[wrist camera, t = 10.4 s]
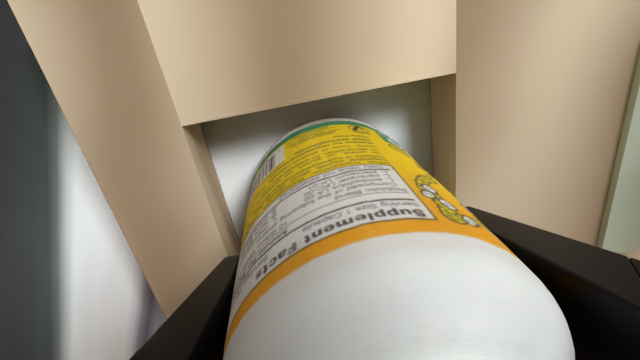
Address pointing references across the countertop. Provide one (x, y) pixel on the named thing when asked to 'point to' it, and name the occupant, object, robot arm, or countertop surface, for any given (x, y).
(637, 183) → the socket board
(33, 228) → the countertop surface
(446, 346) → the supplement bottle
